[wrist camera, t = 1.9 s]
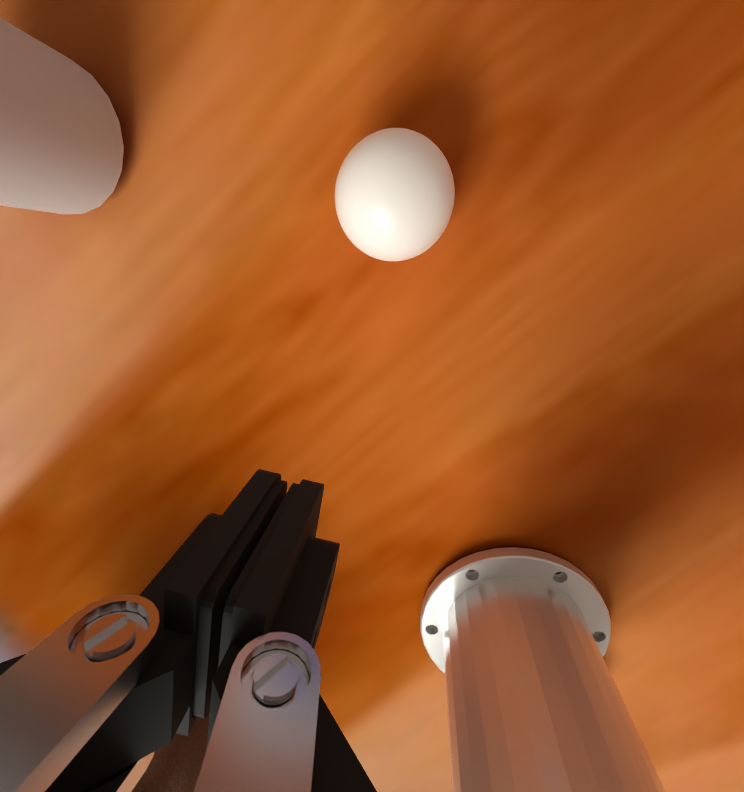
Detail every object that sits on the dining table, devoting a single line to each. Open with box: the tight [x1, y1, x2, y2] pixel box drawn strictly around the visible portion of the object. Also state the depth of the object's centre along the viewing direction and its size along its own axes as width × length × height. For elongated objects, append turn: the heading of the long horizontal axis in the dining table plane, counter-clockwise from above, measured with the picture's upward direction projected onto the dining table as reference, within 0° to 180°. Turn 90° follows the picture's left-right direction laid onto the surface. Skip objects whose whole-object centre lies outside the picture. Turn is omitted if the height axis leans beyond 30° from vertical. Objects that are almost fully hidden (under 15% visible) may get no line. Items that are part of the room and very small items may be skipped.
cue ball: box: [335, 128, 455, 261], centre depth 19 cm, size 6×6×6 cm
